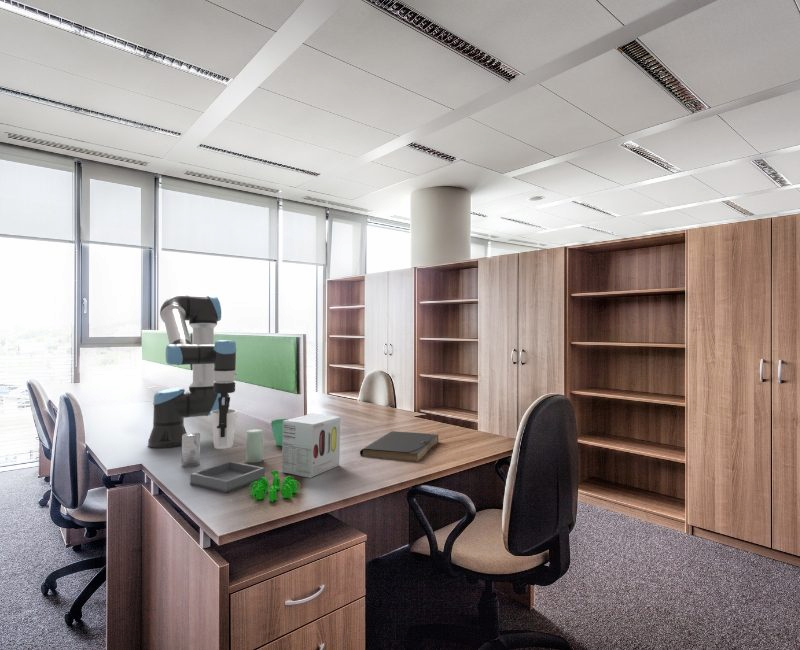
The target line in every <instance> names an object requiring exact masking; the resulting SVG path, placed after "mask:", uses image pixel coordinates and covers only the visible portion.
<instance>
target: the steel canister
mask: <svg viewBox="0 0 800 650" xmlns="http://www.w3.org/2000/svg"><path fill="white" fill-rule="evenodd" d="M186 433H187V434H183V435H182V445H181V467H182V468H196V467H198V466H200V464H201V433H199V432H186Z"/></svg>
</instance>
